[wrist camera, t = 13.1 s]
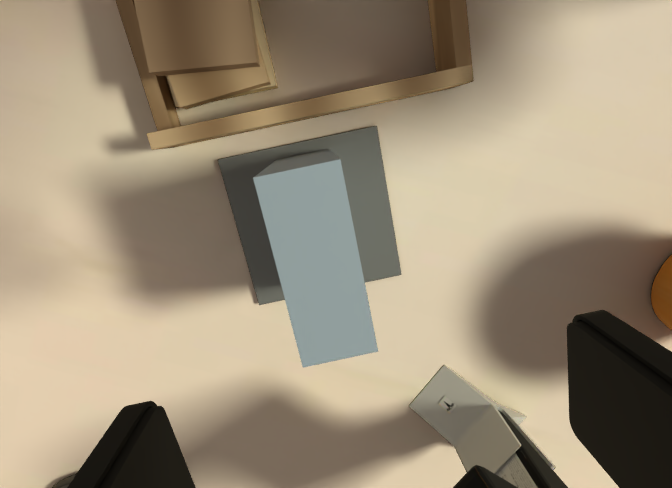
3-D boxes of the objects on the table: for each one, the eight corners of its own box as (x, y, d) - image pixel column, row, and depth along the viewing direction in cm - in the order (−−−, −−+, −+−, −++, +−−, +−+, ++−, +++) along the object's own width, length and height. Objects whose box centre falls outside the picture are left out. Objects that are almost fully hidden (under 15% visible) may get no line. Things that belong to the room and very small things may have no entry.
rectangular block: (328, 148, 29) (340, 159, 17) (353, 272, 32) (378, 351, 20) (276, 159, 29) (253, 177, 17) (306, 282, 32) (302, 367, 20)
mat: (375, 125, 29) (376, 125, 29) (400, 272, 32) (401, 274, 32) (218, 159, 29) (217, 159, 29) (259, 303, 32) (259, 305, 32)
